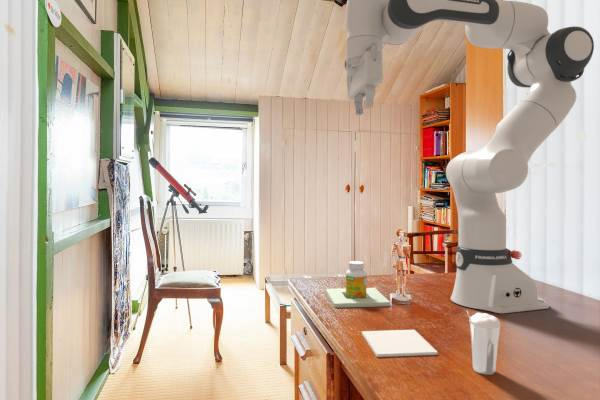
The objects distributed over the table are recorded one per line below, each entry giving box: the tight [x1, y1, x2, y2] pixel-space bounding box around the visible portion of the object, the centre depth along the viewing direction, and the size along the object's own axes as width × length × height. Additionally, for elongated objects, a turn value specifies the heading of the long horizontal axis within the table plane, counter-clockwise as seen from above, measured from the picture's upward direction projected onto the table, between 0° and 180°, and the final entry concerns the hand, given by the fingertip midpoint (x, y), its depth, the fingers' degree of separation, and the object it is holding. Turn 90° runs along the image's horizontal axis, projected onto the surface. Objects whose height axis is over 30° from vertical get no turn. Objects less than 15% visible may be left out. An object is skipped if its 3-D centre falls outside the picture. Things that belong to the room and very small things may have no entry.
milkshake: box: [465, 309, 501, 376], centre depth 65 cm, size 5×5×10 cm
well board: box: [325, 287, 391, 309], centre depth 106 cm, size 14×14×1 cm
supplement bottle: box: [345, 260, 367, 299], centre depth 106 cm, size 5×5×10 cm
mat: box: [361, 329, 438, 358], centre depth 76 cm, size 11×11×1 cm
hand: (363, 111), depth 98 cm, fingers open, 8 cm apart
